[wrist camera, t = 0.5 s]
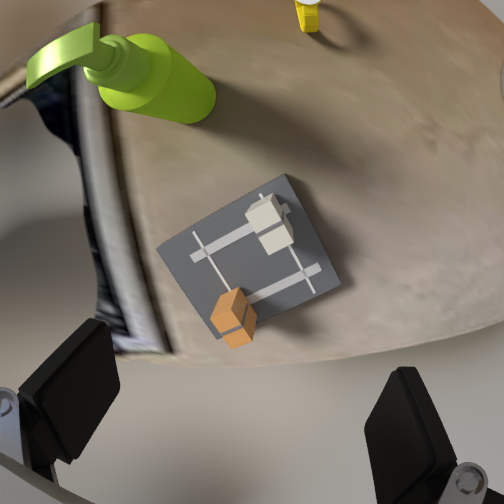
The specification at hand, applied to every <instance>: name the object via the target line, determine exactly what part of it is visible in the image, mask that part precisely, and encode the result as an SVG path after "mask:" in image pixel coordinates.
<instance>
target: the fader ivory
mask: <svg viewBox="0 0 504 504" xmlns="http://www.w3.org/2000/svg"><path fill="white" fill-rule="evenodd" d="M245 216H246V218H247V219H248V221H249V223H250V224H251V226H252V228H253V230H254V231H255V233H256V234H255V235H256V236H257V237H258V238H259V240H260V242H261V243H262V245H263V247H264V249H265V250H266V252H267V254H268V255H270V254H272V253H274V252H276V251H278V250H280V249H282V248H284V247H286V246H288V245H290V244H292V243H294V238H293V228H292V226H291V224H290V222H289V220H288V218H287V217H286V215H285V213H284V211H283V209H282V208H281V206H280V204H279V202H278V200H277V199H276V197H275V195H274V193H271V194H270V195H268V196H266V197H264V198H262V199H260V200H259V201H257V202H255V203H253V204H251V206H250V207H249V209H248V210H247V212H246V213H245Z"/></svg>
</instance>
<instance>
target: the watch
mask: <svg viewBox="0 0 504 504" xmlns="http://www.w3.org/2000/svg"><path fill="white" fill-rule="evenodd" d="M294 1H295V3H296V9H297V13H298V18H299V22H300V27H301V30H302V32H303V33H306V32H317V31H318V26H319V25H318V24H319V18H318V8H317V5H318V4H319V3H320V2H321V1H322V0H294Z"/></svg>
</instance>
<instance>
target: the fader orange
mask: <svg viewBox="0 0 504 504" xmlns="http://www.w3.org/2000/svg"><path fill="white" fill-rule="evenodd" d="M210 320H211V321H212V323H213V324H214V325H215V327H216V328H217V330H218V331H219V332H220V335H221V336H222V337H223V338H224V339H225V341H226V342H227V344H228V345H229V346H230V348H231V349H234V348H236V347H239V346H241V345H244V344H247V343H249V342H252V340H253V335H254V330H255V325H256V320H257V314H256V313H255V311H254V310H253V308H252V306H251V305H250V303H249V302H248V300H247V299H246V297H245V295H244V294H243V292H242V291H241V289H240V287H237V288H235V289H233V290H231V291H229V292H227V293H225V294H223V295H220V298H219V300H218V302H217V304H216V306H215V308H214V311H213V313H212V315H211V317H210Z"/></svg>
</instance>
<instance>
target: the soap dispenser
mask: <svg viewBox="0 0 504 504" xmlns="http://www.w3.org/2000/svg"><path fill="white" fill-rule="evenodd" d="M99 36H100V25H99V24H98V23H96V22H92V23H89V24H87V25H85V26H82V27H80V28H78V29H76V30H74V31H71V32H69V33H67V34H65V35H63V36H61V37H60V38H58V39H56V40H54V41H53V42H51V43H49V44H48V45H46V46H45V47H43V48H42V49H41V50H40V51H38V52H37V53H36V54H35V55H34V56H33V57H32V58H31V59H30V60H29V61H28V62H27V77H26V89H30V88H34V87H36V86H37V85H38V84H40V83H41V82H42V81H44V80H45V79H47V78H49V77H50V76H52V75H54V74H56V73H58V72H60V71H62V70H64V69H66V68H68V67H70V66H73V65H75V64H76V65H79V66H83V70H84V75H85V77H86V79H87V80H88V81H89V82H90V83H92V84H94V85H97V86H98V88H99V92H100V95H101V97H102V99H103V100H104V101H105V102H106V103H107V104H108V105H109V106H111V107H112V108H114V109H117V110H122V111H127V112H133V113H138V114H142V115H147V116H152V117H156V118H161V119H165V120H170V121H174V122H178V123H182V124H192V123H196V122H199V121H201V120H202V119H204V118H205V117H206V116H207V115H208V114H209V113H210V112H211V111H212V109H213V107H214V105H215V101H216V90H215V87H214V85H213V83H212V82H211V81H210V80H209V79H208V78H207V77H206V76H205V75H204V74H203V73H201V72H200V71H199V70H198V69H197V68H196V67H195V66H193V65H192V64H191V63H190V62H189V61H188V60H186V59H185V58H184V57H183V56H182V55H180V54H179V53H178V52H177V51H176V50H174V49H173V48H172V47H171V46H169V45H168V44H167V43H166V42H164V41H163V40H162V39H161V38H159V37H157V36H155V35H152V34H136V35H132V36H129V37H127V38H125V37H123V36H120V35H108V36H105V37H103V38H101V39H100V40H99Z"/></svg>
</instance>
